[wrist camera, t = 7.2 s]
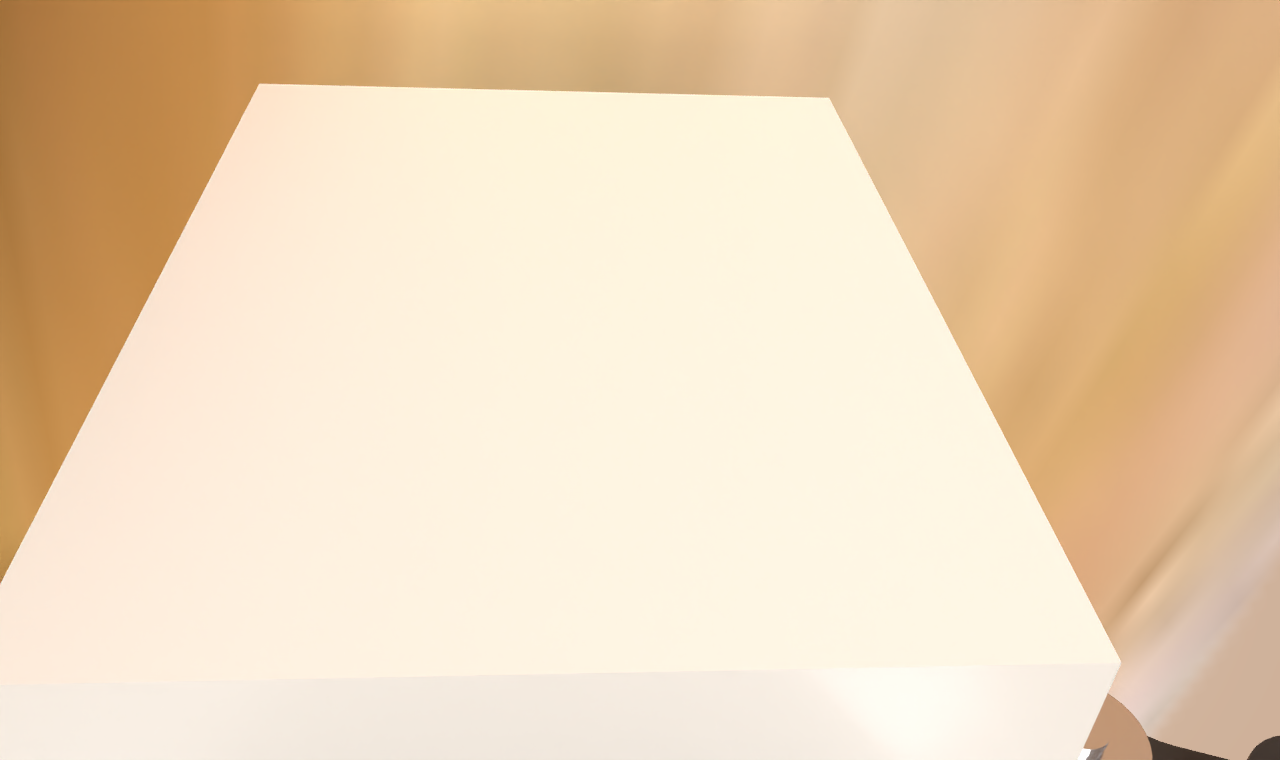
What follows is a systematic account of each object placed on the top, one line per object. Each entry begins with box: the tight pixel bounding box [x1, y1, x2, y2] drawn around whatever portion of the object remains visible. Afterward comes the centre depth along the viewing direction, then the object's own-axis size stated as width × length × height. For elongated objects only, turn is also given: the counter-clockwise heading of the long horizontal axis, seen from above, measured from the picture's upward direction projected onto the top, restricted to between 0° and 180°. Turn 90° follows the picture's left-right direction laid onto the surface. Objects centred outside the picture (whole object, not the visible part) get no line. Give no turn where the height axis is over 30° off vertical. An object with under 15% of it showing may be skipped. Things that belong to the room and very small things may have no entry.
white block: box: [0, 84, 1121, 760], centre depth 12 cm, size 7×7×9 cm
